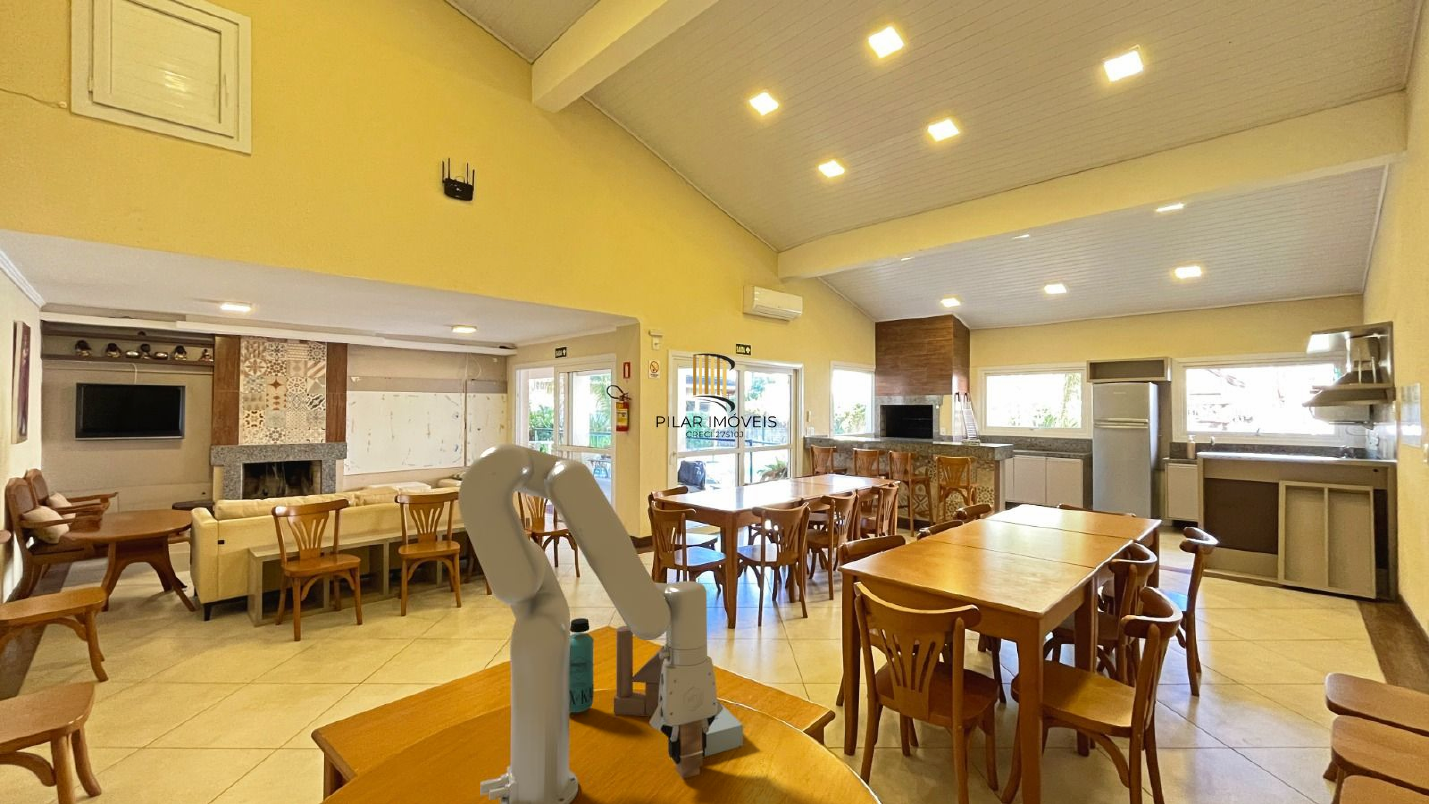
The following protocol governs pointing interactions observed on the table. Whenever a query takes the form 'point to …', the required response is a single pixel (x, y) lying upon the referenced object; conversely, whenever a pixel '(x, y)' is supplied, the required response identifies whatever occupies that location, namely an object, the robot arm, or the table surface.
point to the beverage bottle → (580, 667)
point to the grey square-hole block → (723, 733)
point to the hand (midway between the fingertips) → (687, 755)
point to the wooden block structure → (635, 679)
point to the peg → (690, 749)
